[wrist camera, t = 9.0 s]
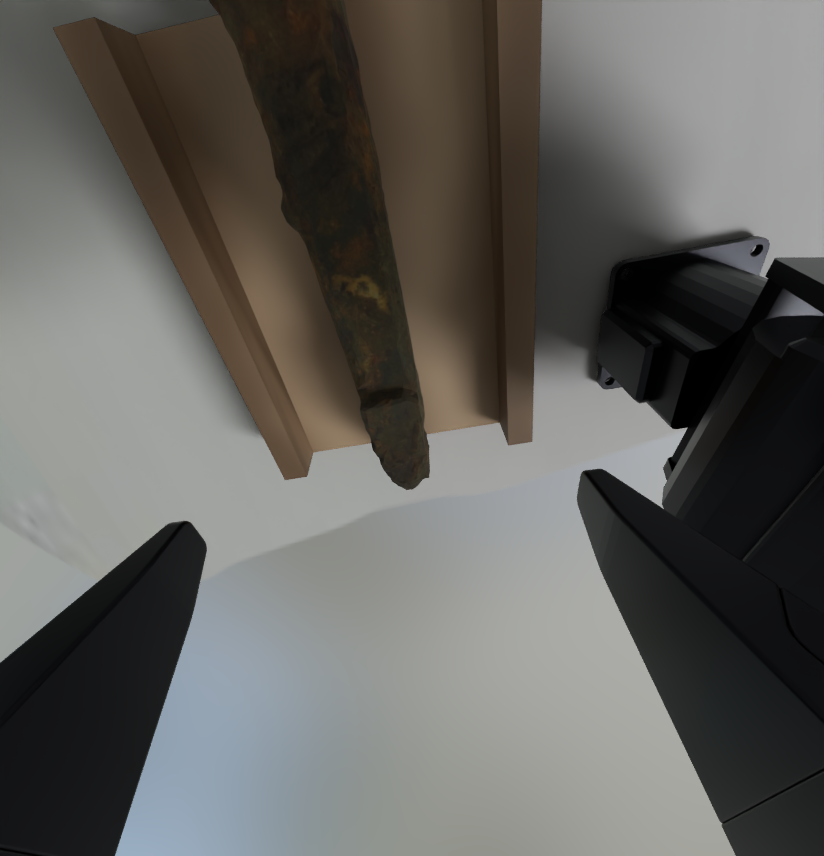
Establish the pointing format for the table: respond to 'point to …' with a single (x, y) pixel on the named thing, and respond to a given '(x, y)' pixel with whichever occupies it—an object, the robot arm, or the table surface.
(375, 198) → the hand tool
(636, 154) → the table surface
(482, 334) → the tool cradle
